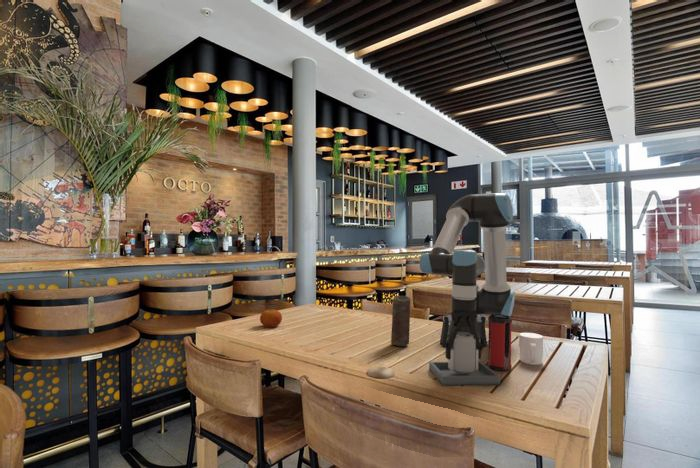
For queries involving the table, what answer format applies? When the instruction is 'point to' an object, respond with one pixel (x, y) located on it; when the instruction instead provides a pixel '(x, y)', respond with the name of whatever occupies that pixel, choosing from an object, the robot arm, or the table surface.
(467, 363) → the can
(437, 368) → the tray
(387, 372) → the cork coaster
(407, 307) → the dark brown bottle
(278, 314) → the fruit
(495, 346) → the speaker
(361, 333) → the table surface
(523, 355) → the mug
